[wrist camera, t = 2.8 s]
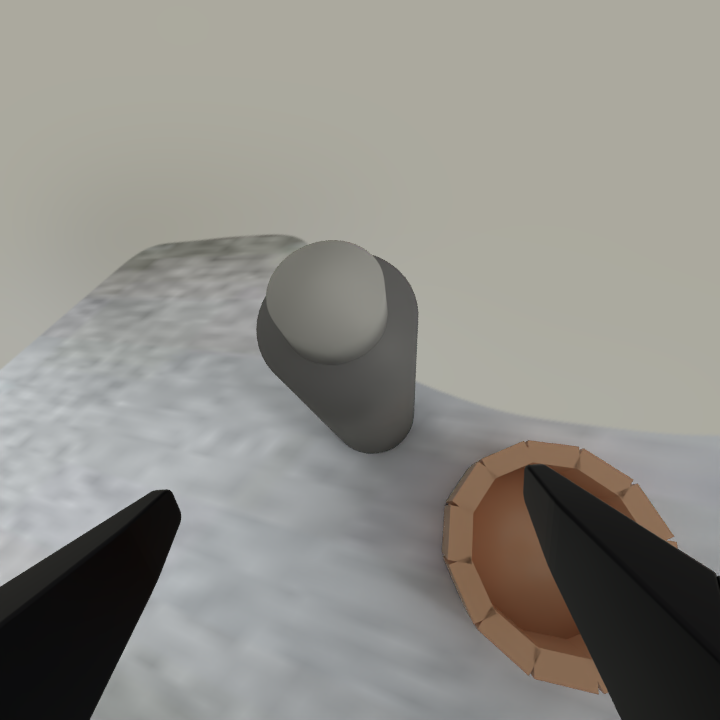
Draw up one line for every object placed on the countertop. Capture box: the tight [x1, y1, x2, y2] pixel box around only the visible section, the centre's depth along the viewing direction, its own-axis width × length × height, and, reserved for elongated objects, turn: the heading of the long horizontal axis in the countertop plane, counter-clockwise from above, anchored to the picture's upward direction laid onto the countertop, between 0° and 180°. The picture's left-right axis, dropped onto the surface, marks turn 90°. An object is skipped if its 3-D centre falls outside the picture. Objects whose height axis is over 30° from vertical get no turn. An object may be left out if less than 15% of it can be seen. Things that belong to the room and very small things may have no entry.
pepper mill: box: [256, 240, 418, 454], centre depth 15 cm, size 5×5×13 cm
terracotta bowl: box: [442, 440, 678, 694], centre depth 16 cm, size 9×9×3 cm
